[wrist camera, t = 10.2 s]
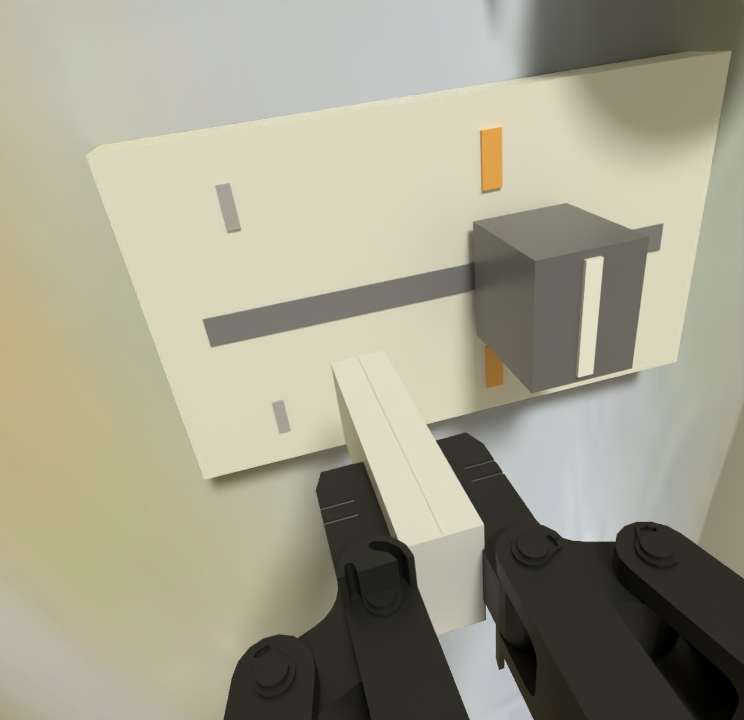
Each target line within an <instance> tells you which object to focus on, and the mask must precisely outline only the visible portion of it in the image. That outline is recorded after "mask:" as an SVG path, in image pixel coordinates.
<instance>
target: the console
mask: <svg viewBox="0 0 744 720" xmlns="http://www.w3.org/2000/svg"><path fill="white" fill-rule="evenodd" d="M731 52H732V51H699V52H681V53H675V54H668V55H662V56H656V57H650V58H643V59H637V60H631V61H625V62H618V63H612V64H606V65H599V66H593V67H587V68H581V69H574V70H568V71H562V72H556V73H549V74H543V75H537V76H531V77H524V78H518V79H512V80H506V81H499V82H493V83H487V84H480V85H474V86H468V87H462V88H455V89H449V90H443V91H437V92H430V93H424V94H418V95H412V96H405V97H399V98H393V99H387V100H380V101H374V102H368V103H361V104H355V105H349V106H343V107H336V108H330V109H324V110H318V111H311V112H305V113H299V114H293V115H286V116H280V117H274V118H268V119H261V120H255V121H249V122H242V123H236V124H230V125H224V126H217V127H211V128H205V129H199V130H192V131H186V132H180V133H174V134H167V135H161V136H155V137H149V138H142V139H136V140H130V141H123V142H117V143H111V144H105V145H100V146H98V147H97V148H95V149H94V150H93V151H91V152H90V153H88V154H87V155H86V157H87V160H88V163H89V165H90V168H91V171H92V174H93V176H94V179H95V182H96V185H97V187H98V190H99V193H100V196H101V198H102V201H103V204H104V206H105V209H106V212H107V215H108V217H109V220H110V223H111V226H112V228H113V231H114V234H115V237H116V239H117V242H118V245H119V247H120V250H121V253H122V256H123V258H124V261H125V264H126V267H127V269H128V272H129V275H130V278H131V280H132V283H133V286H134V289H135V291H136V294H137V297H138V299H139V302H140V305H141V308H142V310H143V313H144V316H145V319H146V321H147V324H148V327H149V330H150V332H151V335H152V338H153V340H154V343H155V346H156V349H157V351H158V354H159V357H160V360H161V362H162V365H163V368H164V371H165V373H166V376H167V379H168V381H169V384H170V387H171V390H172V392H173V395H174V398H175V401H176V403H177V406H178V409H179V412H180V414H181V417H182V420H183V422H184V425H185V428H186V431H187V433H188V436H189V439H190V442H191V444H192V447H193V450H194V453H195V455H196V458H197V461H198V463H199V466H200V469H201V472H202V474H203V477H204V480H205V479H209V478H213V477H217V476H221V475H225V474H229V473H233V472H237V471H241V470H245V469H249V468H253V467H257V466H261V465H265V464H269V463H273V462H277V461H281V460H285V459H289V458H293V457H297V456H301V455H305V454H309V453H313V452H317V451H321V450H325V449H329V448H333V447H337V446H341V445H345V444H346V443H345V439H344V433H343V428H342V422H341V417H340V412H339V406H338V401H337V395H336V390H335V385H334V379H333V374H332V369H331V363H332V362H336V361H340V360H344V359H349V358H353V357H357V356H362V355H366V354H370V353H374V352H379V351H383V350H384V352H385V354H386V355H387V357H388V359H389V361H390V362H391V364H392V366H393V368H394V369H395V371H396V373H397V375H398V376H399V378H400V380H401V381H402V383H403V385H404V387H405V388H406V390H407V392H408V394H409V395H410V397H411V399H412V401H413V402H414V404H415V406H416V407H417V409H418V411H419V413H420V414H421V416H422V418H423V420H424V421H425V423H426V424H429V423H433V422H437V421H441V420H445V419H449V418H453V417H457V416H461V415H465V414H469V413H473V412H477V411H481V410H485V409H489V408H493V407H497V406H501V405H505V404H509V403H513V402H517V401H521V400H525V399H529V398H533V397H537V396H541V395H545V394H549V393H553V392H557V391H561V390H565V389H569V388H573V387H577V386H581V385H585V384H589V383H593V382H597V381H601V380H605V379H609V378H613V377H617V376H621V375H625V374H629V373H633V372H637V371H641V370H645V369H649V368H653V367H657V366H661V365H665V364H669V363H673V362H677V356H678V351H679V345H680V339H681V334H682V328H683V322H684V317H685V311H686V306H687V300H688V294H689V289H690V283H691V277H692V272H693V266H694V261H695V255H696V249H697V244H698V238H699V232H700V227H701V221H702V216H703V210H704V204H705V199H706V193H707V187H708V182H709V176H710V170H711V165H712V159H713V154H714V148H715V142H716V137H717V131H718V125H719V120H720V114H721V109H722V103H723V97H724V92H725V86H726V80H727V75H728V69H729V63H730V58H731ZM564 203H568V204H570V205H573V206H575V207H578V208H580V209H583V210H585V211H588V212H590V213H592V214H595V215H597V216H600V217H602V218H605V219H607V220H610V221H612V222H614V223H617V224H619V225H622V226H624V227H627V228H629V229H632V230H634V231H637V232H639V233H641V234H644V235H646V236H649V244H648V251H647V259H646V266H645V274H644V282H643V289H642V297H641V304H640V312H639V320H638V327H637V335H636V342H635V350H634V358H633V365H632V369H628V370H624V371H620V372H616V373H612V374H608V375H604V376H600V377H596V378H592V379H588V380H584V381H580V382H576V383H572V384H568V385H564V386H560V387H556V388H552V389H548V390H543V391H539V392H535V393H531V392H530V391H529V390H528V389H527V388H526V387H525V386H524V385H523V384H522V382H521V381H520V380H519V379H518V378H517V377H516V376H515V375H514V374H513V373H512V372H511V371H510V370H509V369H508V367H507V366H506V365H505V364H504V363H503V362H502V361H501V360H500V359H499V358H498V357H497V356H496V355H495V354H494V352H493V351H492V350H491V349H490V348H489V347H488V346H487V345H486V344H485V343H484V342H483V341H482V340H481V339H480V337H479V336H478V335H477V332H476V301H475V270H474V239H473V221H478V220H483V219H488V218H493V217H498V216H503V215H508V214H513V213H518V212H523V211H528V210H533V209H538V208H544V207H549V206H554V205H559V204H564Z"/></svg>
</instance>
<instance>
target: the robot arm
mask: <svg viewBox="0 0 744 720" xmlns="http://www.w3.org/2000/svg"><path fill="white" fill-rule="evenodd" d="M331 369H332V374H333V379H334V385H335V390H336V395H337V401H338V406H339V412H340V417H341V422H342V428H343V433H344V439H345V443H346V445H347V448H348V451H349V454H350V457H351V460H352V463H353V464H351V465H347V466H344V467H340V468H336V469H332V470H329V471H325V472H321V475H320V478H319V482H318V485H317V488H316V493H317V497H318V501H319V505H320V510H321V514H322V518H323V522H324V527H325V531H326V535H327V539H328V544H329V548H330V552H331V556H332V560H333V564H334V569H335V573H336V577H337V581H338V593H337V598H336V601H335V603H334V605H333V607H332V609H331V611H330V612H329V613H328V615H327V616H326V617H325V618H324V619H323V620H322V621H321V622H320V623H319V624H317V625H316V626H315V627H313V628H312V629H311V630H309V631H308V632H306V633H305V634H303V635H302V636H300V637H299V638H296V637H294V636H289V635H280V634H278V635H275V636H271V637H267V638H264V639H262V640H261V641H259V642H258V643H256V644H254V645H253V646H251V647H250V648H249V649H248V650H247V651H246V653H245V654H244V655H243V656H242V658H241V659H240V660H239V661H238V664H237V666H236V669H235V671H234V674H233V676H232V680H231V685H230V690H229V695H228V700H227V705H226V710H225V715H224V720H470V719H469V717H468V714H467V712H466V709H465V707H464V704H463V702H462V699H461V696H460V694H459V691H458V689H457V686H456V684H455V681H454V678H453V676H452V673H451V671H450V668H449V666H448V663H447V661H446V658H445V655H444V653H443V650H442V648H441V645H440V643H439V640H438V637H437V635H441V634H444V633H447V632H450V631H453V630H456V629H459V628H462V627H465V626H468V625H472V624H475V623H478V622H481V621H484V620H486V605H487V607H488V609H489V611H490V613H491V616H492V618H493V620H494V622H495V624H496V660H497V664H498V668H499V670H500V669H503V668H504V659H505V661H506V663H507V665H508V667H509V669H510V671H511V673H512V675H513V677H514V679H515V682H516V684H517V686H518V688H519V690H520V692H521V694H522V696H523V698H524V700H525V702H526V704H527V707H528V709H529V711H530V713H531V715H532V717H533V719H534V720H744V579H743V578H742V577H741V576H739V575H738V574H736V573H735V572H734V571H732V570H731V569H729V568H728V567H727V566H725V565H724V564H723V563H721V562H720V561H718V560H717V559H716V558H714V557H713V556H711V555H710V554H709V553H707V552H706V551H705V550H703V549H702V548H700V547H699V546H698V545H696V544H695V543H694V542H692V541H691V540H689V539H688V538H687V537H685V536H684V535H682V534H681V533H679V532H677V531H675V530H674V529H672V528H670V527H668V526H665V525H662V524H658V523H654V522H635V523H632V524H629V525H627V526H624V527H623V528H622V530H621V531H620V532H619V533H618V534H617V537H616V542H582V541H572V540H568V539H564V538H562V537H561V536H560V535H559V534H558V533H557V532H556V531H554V530H552V529H550V528H548V527H546V526H543V525H540V524H539V523H538V521H537V520H536V519H535V518H534V516H533V515H532V513H531V512H530V511H529V509H528V508H527V506H526V505H525V503H524V502H523V500H522V499H521V498H520V496H519V495H518V493H517V492H516V490H515V489H514V487H513V486H512V485H511V483H510V482H509V480H508V479H507V477H506V476H505V474H503V473H502V470H501V469H500V467H499V466H498V464H497V463H496V462H494V459H493V457H492V456H491V454H490V453H489V451H488V450H487V448H486V447H485V446H484V444H483V443H481V442H480V441H478V440H477V439H475V438H473V437H472V436H470V435H469V434H467V433H463V434H459V435H455V436H451V437H448V438H444V439H440V440H435V439H434V437H433V435H432V434H431V432H430V430H429V428H428V427H427V425H426V423H425V421H424V420H423V418H422V416H421V414H420V413H419V411H418V409H417V407H416V406H415V404H414V402H413V401H412V399H411V397H410V395H409V394H408V392H407V390H406V388H405V387H404V385H403V383H402V381H401V380H400V378H399V376H398V375H397V373H396V371H395V369H394V368H393V366H392V364H391V362H390V361H389V359H388V357H387V355H386V354H385V352H384V350H383V351H379V352H374V353H370V354H366V355H362V356H357V357H353V358H349V359H344V360H340V361H336V362H332V363H331Z"/></svg>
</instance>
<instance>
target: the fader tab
mask: <svg viewBox="0 0 744 720" xmlns="http://www.w3.org/2000/svg"><path fill="white" fill-rule="evenodd" d="M473 239H474V270H475V301H476V332H477V335H478V336H479V337H480V339H481V340H482V341H483V342H484V343H485V344H486V345H487V346H488V347H489V348H490V349H491V350H492V351H493V352H494V354H495V355H496V356H497V357H498V358H499V359H500V360H501V361H502V362H503V363H504V364H505V365H506V366H507V367H508V369H509V370H510V371H511V372H512V373H513V374H514V375H515V376H516V377H517V378H518V379H519V380H520V381H521V382H522V384H523V385H524V386H525V387H526V388H527V389H528V390H529V391H530V392H531V393H535V392H539V391H543V390H548V389H552V388H556V387H560V386H564V385H568V384H572V383H576V382H580V381H584V380H588V379H592V378H596V377H600V376H604V375H608V374H612V373H616V372H620V371H624V370H628V369H632V365H633V358H634V350H635V342H636V335H637V327H638V320H639V312H640V304H641V297H642V289H643V282H644V274H645V266H646V259H647V251H648V244H649V236H646V235H644V234H641V233H639V232H637V231H634V230H632V229H629V228H627V227H624V226H622V225H619V224H617V223H614V222H612V221H610V220H607V219H605V218H602V217H600V216H597V215H595V214H592V213H590V212H588V211H585V210H583V209H580V208H578V207H575V206H573V205H570V204H568V203H564V204H559V205H554V206H549V207H544V208H538V209H533V210H528V211H523V212H518V213H513V214H508V215H503V216H498V217H493V218H488V219H483V220H478V221H473Z"/></svg>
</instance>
